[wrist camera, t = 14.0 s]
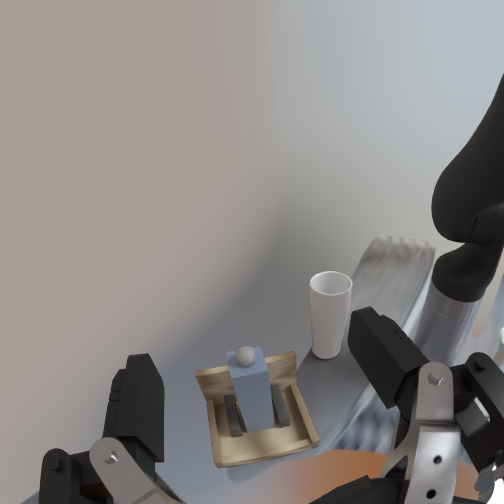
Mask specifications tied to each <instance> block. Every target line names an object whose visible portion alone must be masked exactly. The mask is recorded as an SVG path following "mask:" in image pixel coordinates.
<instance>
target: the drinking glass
mask: <svg viewBox="0 0 504 504" xmlns="http://www.w3.org/2000/svg"><path fill="white" fill-rule="evenodd" d="M351 298H352V281H351V279H350V278H349V277H348V276H346V275H344V274H342V273H339V272H322V273H319V274H317V275H315V276H313V277H312V279H311V280H310V287H309V309H310V321H311V333H312V351H313V353H314V354H315V355H316V356H317V357H319V358H321V359H331V358H333V357H335V356H337V355H338V353H339V352H340V349H341V343H342V339H343V335H344V331H345V327H346V323H347V319H348V315H349V311H350V305H351Z"/></svg>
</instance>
